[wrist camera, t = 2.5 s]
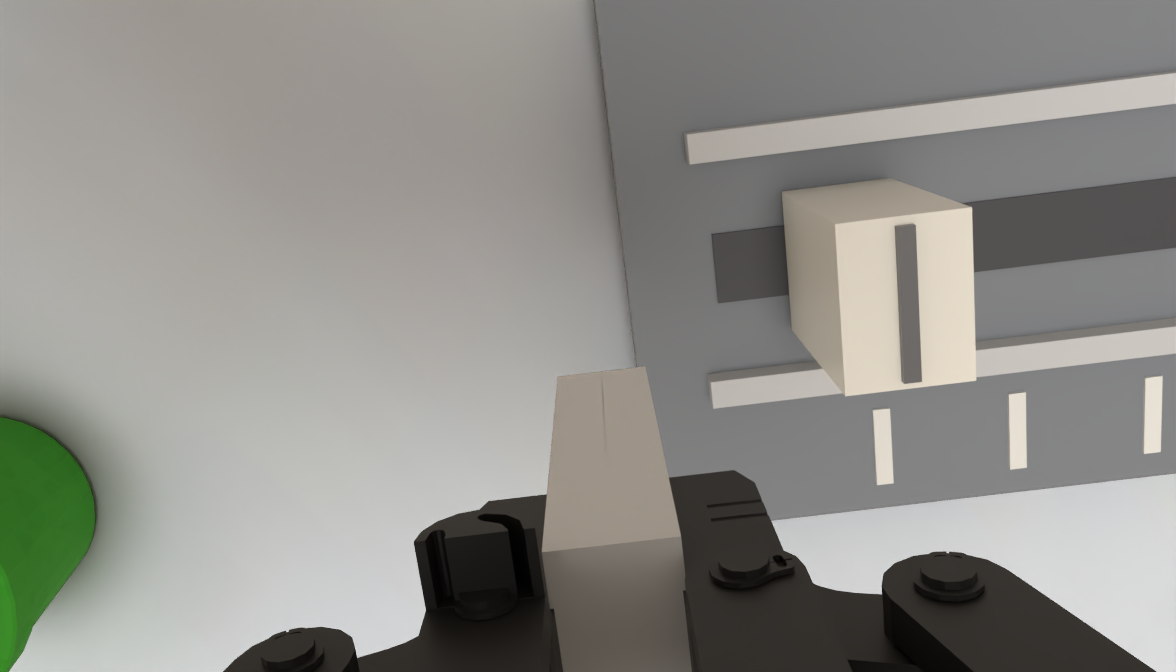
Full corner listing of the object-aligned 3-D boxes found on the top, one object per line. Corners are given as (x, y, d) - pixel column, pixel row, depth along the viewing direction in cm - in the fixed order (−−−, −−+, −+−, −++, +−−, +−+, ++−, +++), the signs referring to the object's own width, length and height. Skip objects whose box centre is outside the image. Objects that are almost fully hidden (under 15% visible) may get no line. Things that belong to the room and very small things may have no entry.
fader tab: (781, 191, 28) (837, 225, 22) (890, 177, 28) (975, 208, 22) (792, 330, 29) (847, 398, 23) (896, 317, 29) (979, 383, 23)
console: (592, -9, 29) (594, -18, 26) (1665, -148, 28) (1801, -175, 25) (652, 506, 33) (660, 551, 30) (1589, 396, 32) (1697, 431, 29)
